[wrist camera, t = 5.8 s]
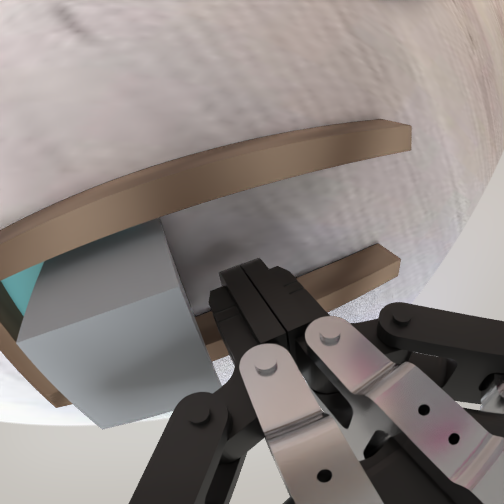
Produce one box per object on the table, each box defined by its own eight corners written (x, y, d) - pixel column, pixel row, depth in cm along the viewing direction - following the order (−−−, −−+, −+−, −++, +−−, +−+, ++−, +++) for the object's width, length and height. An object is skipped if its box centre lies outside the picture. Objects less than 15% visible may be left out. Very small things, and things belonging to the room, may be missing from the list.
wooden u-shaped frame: (381, 119, 13) (411, 125, 11) (376, 259, 17) (398, 275, 16) (-34, 249, 8) (-52, 274, 6) (57, 379, 12) (56, 407, 11)
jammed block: (159, 217, 10) (179, 286, 7) (193, 314, 13) (224, 392, 9) (44, 261, 9) (16, 342, 6) (97, 347, 12) (102, 429, 8)
